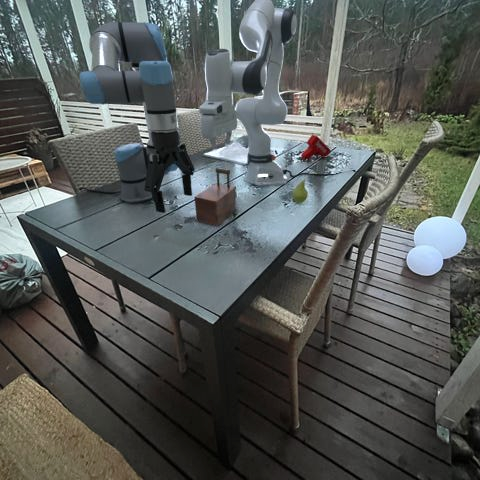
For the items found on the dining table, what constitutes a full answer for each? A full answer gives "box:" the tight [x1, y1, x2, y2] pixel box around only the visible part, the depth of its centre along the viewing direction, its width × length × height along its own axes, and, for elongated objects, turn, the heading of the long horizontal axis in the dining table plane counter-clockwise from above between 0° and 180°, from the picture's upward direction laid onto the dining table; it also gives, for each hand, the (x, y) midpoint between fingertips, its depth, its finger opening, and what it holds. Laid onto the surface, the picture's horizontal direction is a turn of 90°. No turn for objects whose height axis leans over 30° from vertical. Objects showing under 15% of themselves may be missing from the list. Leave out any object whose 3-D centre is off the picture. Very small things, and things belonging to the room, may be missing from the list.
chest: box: [194, 189, 237, 226], centre depth 109 cm, size 15×10×9 cm, turn 153°
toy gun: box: [300, 134, 332, 162], centre depth 175 cm, size 18×4×15 cm
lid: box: [194, 167, 237, 204], centre depth 104 cm, size 16×10×8 cm, turn 153°
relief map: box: [203, 141, 249, 166], centre depth 184 cm, size 27×35×5 cm
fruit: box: [291, 175, 311, 204], centre depth 118 cm, size 7×8×12 cm
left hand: (175, 203), depth 84 cm, fingers open, 13 cm apart
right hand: (221, 146), depth 102 cm, fingers open, 8 cm apart
